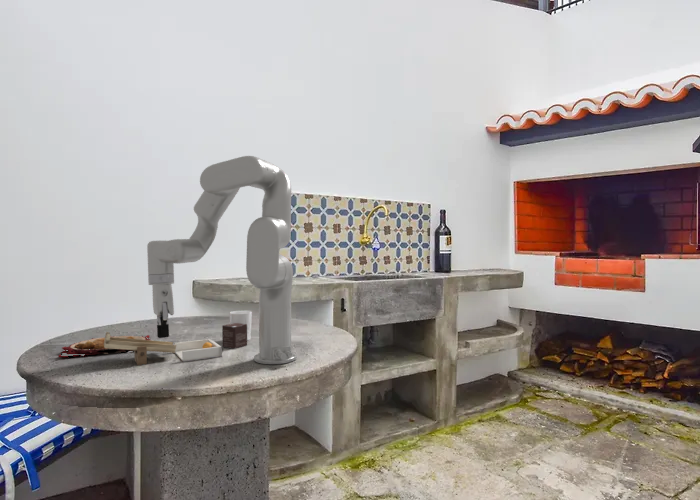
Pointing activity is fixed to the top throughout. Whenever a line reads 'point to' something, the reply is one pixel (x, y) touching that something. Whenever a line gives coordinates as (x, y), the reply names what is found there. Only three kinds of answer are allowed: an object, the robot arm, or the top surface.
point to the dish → (197, 350)
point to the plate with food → (94, 346)
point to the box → (234, 335)
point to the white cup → (242, 320)
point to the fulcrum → (140, 355)
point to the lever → (138, 344)
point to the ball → (207, 345)
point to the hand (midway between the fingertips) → (163, 337)
